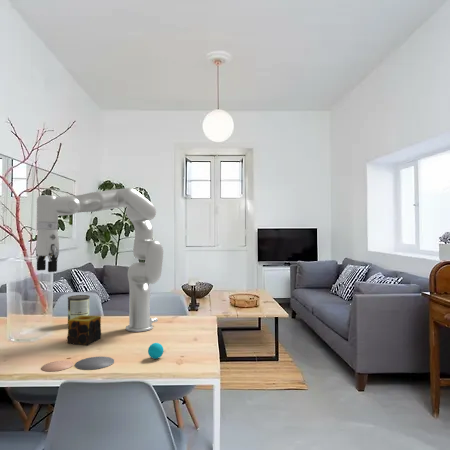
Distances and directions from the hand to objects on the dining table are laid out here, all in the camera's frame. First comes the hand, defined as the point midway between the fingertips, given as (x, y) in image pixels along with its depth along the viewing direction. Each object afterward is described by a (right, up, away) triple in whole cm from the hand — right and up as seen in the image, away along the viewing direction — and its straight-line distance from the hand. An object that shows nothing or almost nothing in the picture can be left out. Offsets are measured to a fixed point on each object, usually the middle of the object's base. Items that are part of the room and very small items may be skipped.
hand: (46, 271), depth 145 cm
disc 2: (+24, -30, -15) cm, 41 cm away
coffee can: (-4, -32, +42) cm, 53 cm away
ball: (+44, -28, -9) cm, 53 cm away
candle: (+10, -32, +12) cm, 35 cm away
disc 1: (+12, -30, -18) cm, 37 cm away
